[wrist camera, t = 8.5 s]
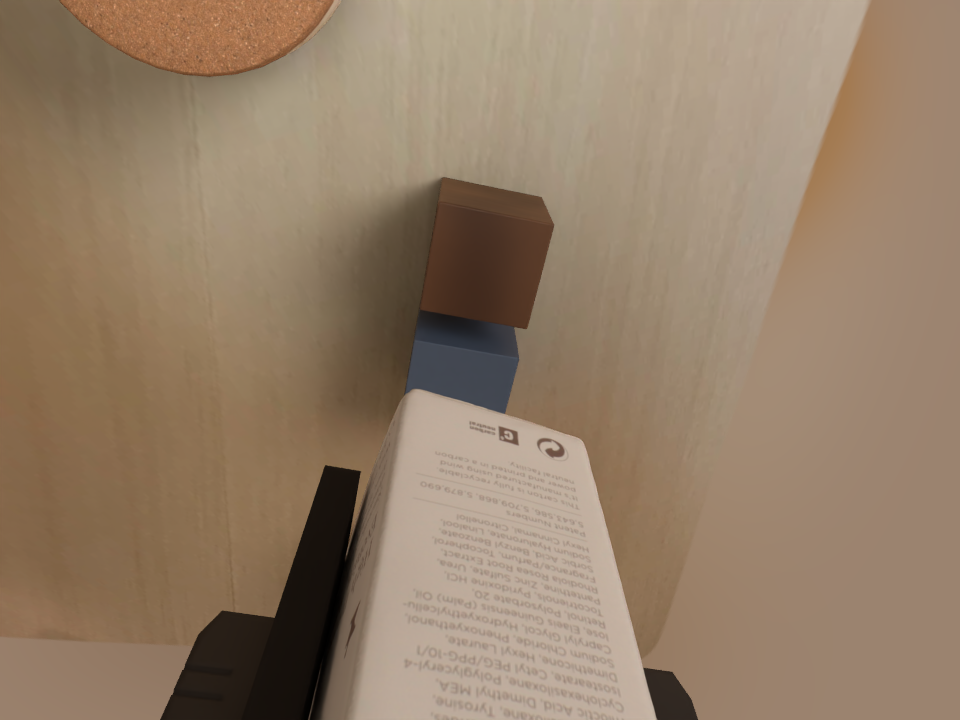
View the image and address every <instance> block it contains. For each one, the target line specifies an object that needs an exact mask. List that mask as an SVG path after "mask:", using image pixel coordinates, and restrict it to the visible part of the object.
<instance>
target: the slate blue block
mask: <svg viewBox="0 0 960 720" xmlns="http://www.w3.org/2000/svg"><path fill="white" fill-rule="evenodd" d="M420 303H421V302H420ZM518 362H519V354H518V348H517V342H516V336H515V330H514V327H512V326H507V325H501V324H495V323H490V322H484V321H479V320H473V319H468V318H462V317H457V316H451V315H446V314H440V313H435V312H429V311H424V310H420V307H419V313H418V319H417V325H416V330H415V336H414V342H413V347H412V353H411V359H410V365H409V370H408V376H407V382H406V388H405V394H406V393H408V392H410V391H411V390H412V389H421V390H425V391H428V392H432V393H435V394H438V395H442V396H445V397H449V398H452V399H456V400H460V401H463V402H467V403H470V404H473V405H476V406H480V407H483V408H486V409H488V410H492V411H496V412H499V413H502V414H505V411H506V407H507V403H508V400H509V396H510V392H511V388H512V384H513V381H514V377H515V373H516V369H517V366H518ZM405 394H404V396H405Z"/></svg>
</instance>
